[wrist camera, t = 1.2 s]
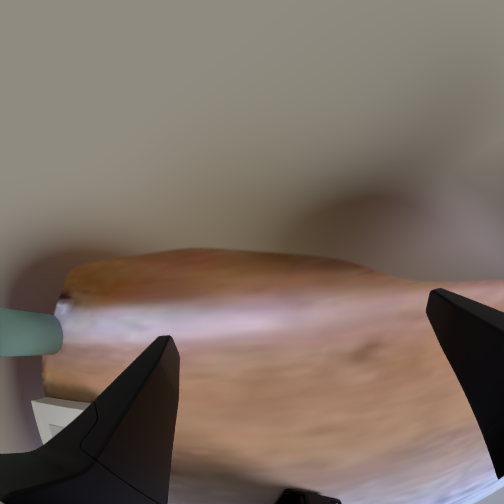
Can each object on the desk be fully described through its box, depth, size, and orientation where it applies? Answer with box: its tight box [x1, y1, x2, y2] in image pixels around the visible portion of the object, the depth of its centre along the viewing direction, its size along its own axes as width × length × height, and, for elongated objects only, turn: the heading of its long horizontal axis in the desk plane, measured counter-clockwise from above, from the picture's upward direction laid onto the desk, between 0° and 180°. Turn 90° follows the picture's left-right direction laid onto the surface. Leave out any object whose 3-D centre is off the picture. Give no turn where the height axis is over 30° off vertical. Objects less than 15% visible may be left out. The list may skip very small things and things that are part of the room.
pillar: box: [0, 308, 63, 357], centre depth 18 cm, size 5×5×13 cm
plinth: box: [31, 397, 91, 445], centre depth 20 cm, size 10×10×3 cm
